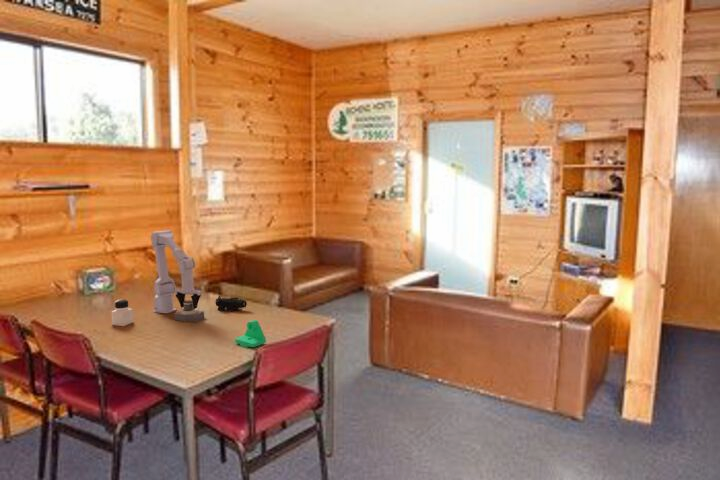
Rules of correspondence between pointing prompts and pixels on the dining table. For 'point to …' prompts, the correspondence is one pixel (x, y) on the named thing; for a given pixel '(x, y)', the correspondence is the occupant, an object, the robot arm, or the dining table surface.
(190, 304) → the lens
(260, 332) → the camera mount
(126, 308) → the medicine bottle
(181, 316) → the camera body
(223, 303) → the night vision scope
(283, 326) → the dining table surface
